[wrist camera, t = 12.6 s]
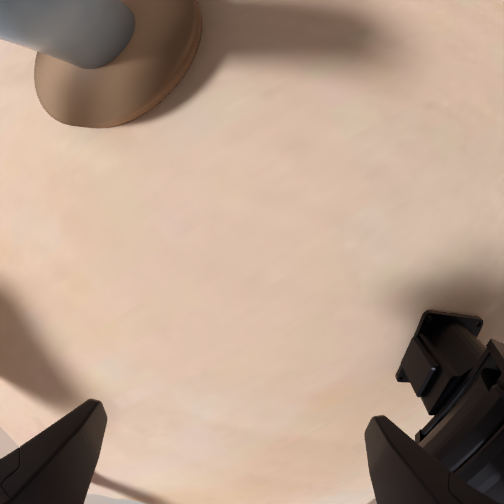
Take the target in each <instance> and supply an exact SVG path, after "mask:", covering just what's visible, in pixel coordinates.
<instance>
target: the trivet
mask: <svg viewBox="0 0 504 504" xmlns="http://www.w3.org/2000/svg"><path fill="white" fill-rule="evenodd" d="M122 1H123V2H124V3H125V4H126V5H127V6H128V7H129V8H130V9H131V11H132V12H133V14H134V17H135V29H134V33H133V35H132V38H131V40H130V41H129V43H128V45H127V46H126V48H125V49H124V50H123V51H122V52H121V53H120V54H119V55H118V56H117V57H116V58H115V59H113V60H112V61H111V62H109V63H107V64H105V65H103V66H101V67H98V68H94V69H83V68H80V67H77V66H75V65H72V64H70V63H67V62H65V61H62V60H59V59H57V58H54V57H51V56H49V55H46V54H43V53H41V52H38V51H37V55H36V60H35V68H34V81H35V88H36V92H37V96H38V98H39V101H40V103H41V105H42V106H43V108H44V109H45V110H46V112H47V113H48V114H49V115H50V116H51V117H53V118H54V119H56V120H57V121H59V122H61V123H64V124H67V125H71V126H79V127H88V128H109V127H114V126H118V125H121V124H124V123H127V122H129V121H132V120H134V119H136V118H138V117H140V116H141V115H143V114H144V113H146V112H148V111H149V110H151V109H152V108H153V107H155V106H156V105H157V104H159V103H160V102H161V101H162V100H163V99H164V98H165V97H166V96H167V95H168V94H169V93H170V92H171V91H172V90H173V89H174V88H175V87H176V85H177V84H178V83H179V82H180V80H181V79H182V78H183V76H184V75H185V73H186V72H187V70H188V68H189V67H190V65H191V63H192V61H193V59H194V57H195V54H196V52H197V49H198V46H199V42H200V38H201V32H202V18H201V12H200V8H199V6H198V3H197V1H196V0H122Z"/></svg>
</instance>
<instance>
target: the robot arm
mask: <svg viewBox="0 0 504 504" xmlns="http://www.w3.org/2000/svg"><path fill="white" fill-rule="evenodd" d="M429 316H430V318H429V319H427V317H429ZM478 322H479V323H478ZM477 323H478V324H477ZM482 325H483V320H482V319H481V318H480V317H474V316H466V315H458V314H451V313H443V312H436V311H426V312H425V313H424V314H423V315H422V317H421V320H420V322H419V325H418V327H417V330H416V332H415V334H414V337H413V338H412V339H411V342H410V344H409V346H408V348H407V351H406V353H405V355H404V357H403V359H402V361H401V365H400V367H399V369H398V371H397V373H396V379H397V381H398V382H410V383H411V385H412V387H413V389H414V391H415V393H416V396H417V397H421V399H422V401H423V403H424V405H425V407H426V410H427V412H428V414H429V415H435V416H434V417H433V418H432V419H431V420H430V421H429V422H428V423H427V425H426V426H425V427H424V428H423V429H422V430H419V431H418V432H417V434H416V435H415V441H414V440H413V439H411V438H410V437H409V436H408V435H407V434H406V433H404V432H403V431H402V430H401V429H400V428H398V427H397V426H396V425H395V424H394V423H393V422H391V421H390V420H389V419H388V418H387V417H386V416H384V415H380V416H374V417H372V418H371V420H370V422H369V424H368V426H367V428H366V430H365V443H366V450H367V458H368V466H369V473H370V477H371V481H372V485H373V489H374V493H375V497H376V501H377V504H504V344H503V343H500V342H498V341H496V340H493V339H490V341H489V342H488V344H487V345H486V346H487V348H486V347H485V346H484V345H483V344H482V343H481V342H480V340H479V339H478V338H477V336H478V334H479V332H480V330H481V328H482ZM402 375H403V376H402ZM401 376H402V377H401ZM106 424H107V415H106V412H105V410H104V407H103V404H102V402H101V401H99V400H95V399H88V400H87V401H85V402H84V403H83V404H81V405H80V406H78V407H77V408H76V409H74V410H73V411H71V412H70V413H68V414H67V415H66V416H64V417H63V418H61V419H60V420H58V421H57V422H55V423H54V424H53V425H51V426H50V427H48V428H47V429H45V430H44V431H42V432H41V433H39V434H38V435H36V436H35V437H34V438H32V439H31V440H29V441H28V442H26V443H25V444H23V445H22V446H20V448H17V449H16V450H14V451H13V452H11V453H9V454H8V455H7V456H5V457H3V458H1V459H0V504H84V501H85V497H86V495H87V491H88V488H89V485H90V482H91V479H92V476H93V473H94V470H95V467H96V465H97V462H98V458H99V455H100V450H101V446H102V441H103V437H104V433H105V428H106Z"/></svg>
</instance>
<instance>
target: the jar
mask: <svg viewBox="0 0 504 504" xmlns="http://www.w3.org/2000/svg"><path fill="white" fill-rule="evenodd" d="M134 29H135V17H134V14H133V12H132V11H131V9H130V8H129V7H128V6H127V5H126V4H125V3H124V2H123V1H122V0H0V39H1V40H5V41H8V42H11V43H14V44H17V45H20V46H23V47H26V48H29V49H32V50H35V51H38V52H41V53H43V54H46V55H49V56H51V57H54V58H57V59H59V60H62V61H65V62H67V63H70V64H72V65H75V66H77V67H80V68H83V69H94V68H98V67H101V66H103V65H105V64H107V63H109V62H111V61H112V60H113V59H115V58H116V57H117V56H118V55H119V54H120V53H121V52H122V51H123V50H124V49H125V48H126V46H127V45H128V43H129V41H130V40H131V38H132V35H133V33H134Z"/></svg>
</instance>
